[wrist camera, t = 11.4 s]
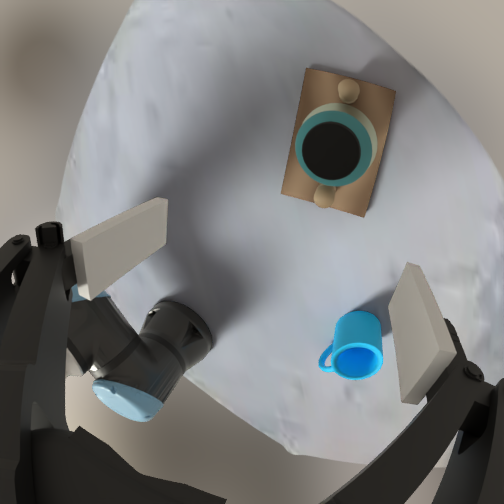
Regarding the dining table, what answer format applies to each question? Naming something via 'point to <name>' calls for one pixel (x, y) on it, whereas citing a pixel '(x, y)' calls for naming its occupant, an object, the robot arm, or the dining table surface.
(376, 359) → the mug
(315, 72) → the wooden board with pegs
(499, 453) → the robot arm
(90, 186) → the dining table surface
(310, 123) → the beverage bottle
